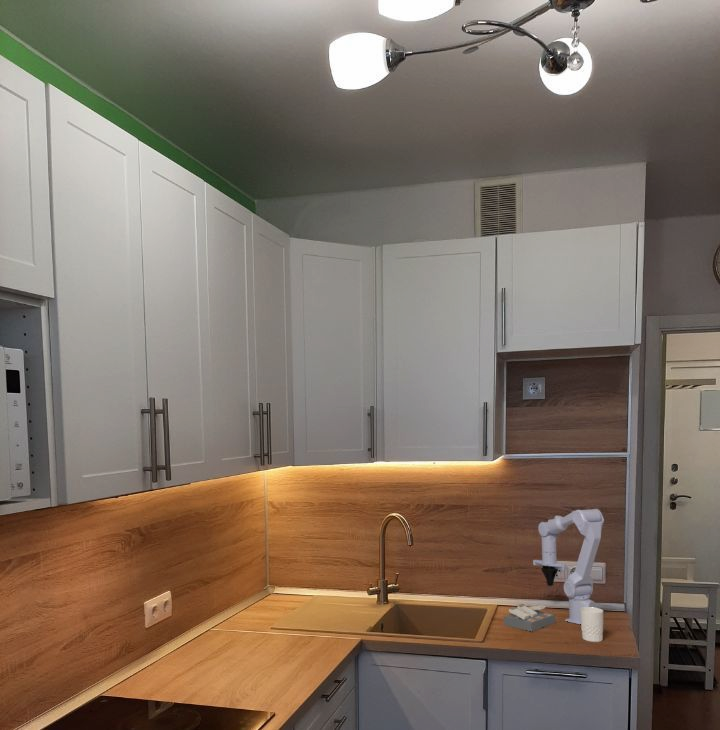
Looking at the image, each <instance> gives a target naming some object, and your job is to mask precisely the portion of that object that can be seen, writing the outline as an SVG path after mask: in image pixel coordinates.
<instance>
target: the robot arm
mask: <svg viewBox="0 0 720 730" xmlns="http://www.w3.org/2000/svg"><path fill="white" fill-rule="evenodd" d="M604 523H605V518H604V515H603V514H602V512H601V511H600V510H599V509H598V508H593V509H576V510H572V511H571V512H570V513H568V514H567V515H565V516H561V515H555V516H554V518H552V519H551V518H550V519H548V520H547V521H541V522H540V523H539V524H538V527H537V529H538V534H539V535H540V537H541V557H542V559H533V560H532V564H533V566H539V567H541V571H542V573H543V576H544V577H545V580H546V584H547V586H549V587H553V586H554V581H555V578H556V575H557V573H558V571H559V570H561V571H567V570H568V569H567V568H568V567H567V564H563V563H560V562H557V561H558V559H557V556H558V555H557V540H558V535H559V534H560V533H562V532H563V531H565V530H567V528H568V526H570V525H572V524H574V525H575V527H576V528H577V529H578V531H579V533H580V535H582V536H584V537H583V541H582V545H581V550H580V551H579V552H580V553H579V555H578V559H577V563H576V565H575V570H574V571H573V572H572V573H571V574H570V575H568V577H567V579H566V580H565V582H564V584H563V591H564V594H565V595H566V597H567V598H568V607H569V608H568V610H569V611H568V613H569V618H566V619H564V622H567V621H568V622H569V623H572V624H577V625H580V624H581V619H580V608H582V607H595V608H597V605H596V602H595V601H594V600H591V599H590V598H591V595H592V594H593V593H594V592H593V591H594V588H593V587H594V586H593V585H594V580H593V578H592V577H591V576H590V575H591V573H592V568H593V565H594V562H595V559H596V556H597V552H598V549H599V546H600V542H601V538H602V529H603V526H604ZM568 622H567V623H568Z"/></svg>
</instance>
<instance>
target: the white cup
mask: <svg viewBox="0 0 720 730" xmlns="http://www.w3.org/2000/svg"><path fill="white" fill-rule="evenodd" d="M580 619H581V625H580V626H581V627H580V628H581V638H582V639H583V640H585V641H586V642H593V643H599V642H602V641H603V638H604V636H603V635H604V634H603V633H604V609H601V608H600V607H599V608H598V607H596V608H595V607H582V608H580Z"/></svg>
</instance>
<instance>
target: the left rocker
mask: <svg viewBox="0 0 720 730" xmlns="http://www.w3.org/2000/svg"><path fill="white" fill-rule="evenodd" d="M508 612H509V613H510V614H514V615H516V616H518V617H520V618H522V619H523V620H525V619H528V618H529V615H528V614H526V613H524V612H522V611H521V610H519V609H517V607H515V606H512V607H510V608H509V609H508Z"/></svg>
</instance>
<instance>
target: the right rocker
mask: <svg viewBox="0 0 720 730" xmlns="http://www.w3.org/2000/svg"><path fill="white" fill-rule="evenodd" d="M527 607H528V608H530V609H532V610H539V611H540V610H543V609H546V606H545V604H540V605H539V604H538V605H528V606H527Z"/></svg>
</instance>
